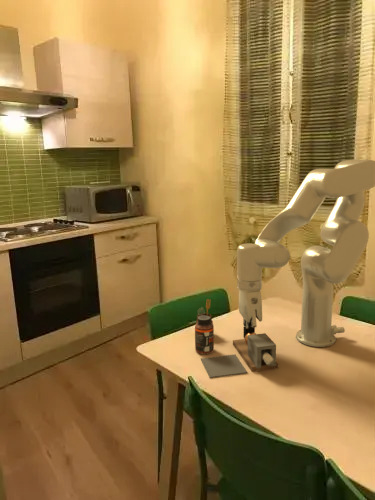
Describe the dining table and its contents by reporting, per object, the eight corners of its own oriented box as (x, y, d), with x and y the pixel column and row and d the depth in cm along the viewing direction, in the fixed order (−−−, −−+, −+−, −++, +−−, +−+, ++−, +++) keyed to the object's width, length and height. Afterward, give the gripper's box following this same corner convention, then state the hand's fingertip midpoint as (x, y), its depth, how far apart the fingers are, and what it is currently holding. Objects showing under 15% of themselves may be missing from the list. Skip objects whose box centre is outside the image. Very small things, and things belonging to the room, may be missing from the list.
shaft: (244, 345, 124) (244, 332, 123) (257, 344, 124) (257, 331, 123) (262, 370, 109) (262, 355, 108) (277, 368, 110) (277, 353, 109)
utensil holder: (192, 335, 137) (192, 303, 135) (202, 329, 142) (201, 297, 140) (207, 339, 134) (206, 306, 132) (216, 332, 139) (216, 300, 137)
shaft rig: (232, 344, 130) (232, 321, 128) (255, 341, 131) (255, 319, 130) (253, 373, 112) (253, 347, 110) (279, 370, 113) (280, 344, 112)
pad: (235, 355, 123) (235, 354, 122) (247, 373, 112) (247, 372, 112) (200, 359, 120) (200, 358, 120) (209, 378, 110) (209, 376, 110)
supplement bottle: (212, 355, 123) (212, 321, 120) (193, 354, 124) (192, 320, 122) (215, 347, 128) (214, 314, 126) (197, 345, 130) (196, 313, 127)
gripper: (269, 290, 115) (268, 347, 119) (253, 276, 130) (252, 328, 134) (245, 292, 114) (244, 350, 118) (231, 277, 129) (231, 330, 133)
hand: (249, 338), depth 126 cm, fingers closed
